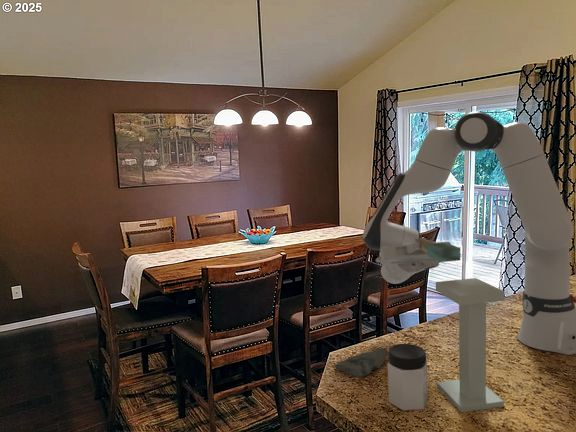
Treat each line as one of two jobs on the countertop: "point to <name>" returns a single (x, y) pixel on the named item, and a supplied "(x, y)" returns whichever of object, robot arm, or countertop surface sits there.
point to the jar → (407, 377)
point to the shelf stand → (471, 344)
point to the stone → (363, 363)
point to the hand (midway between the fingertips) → (425, 243)
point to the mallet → (440, 250)
